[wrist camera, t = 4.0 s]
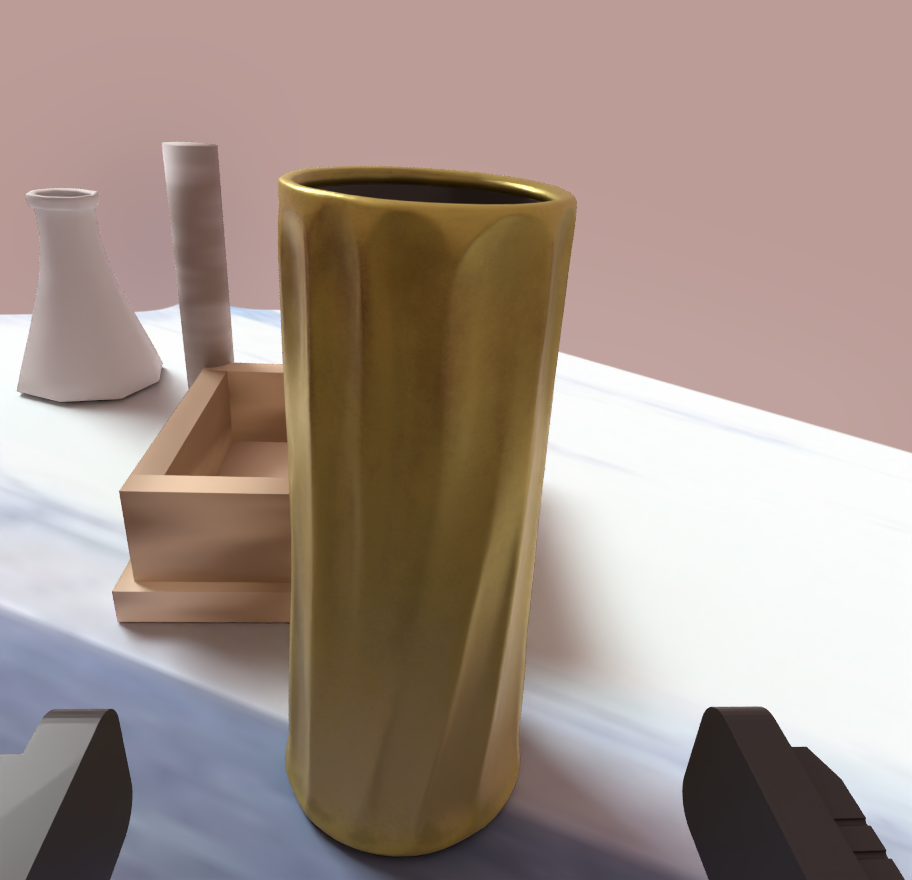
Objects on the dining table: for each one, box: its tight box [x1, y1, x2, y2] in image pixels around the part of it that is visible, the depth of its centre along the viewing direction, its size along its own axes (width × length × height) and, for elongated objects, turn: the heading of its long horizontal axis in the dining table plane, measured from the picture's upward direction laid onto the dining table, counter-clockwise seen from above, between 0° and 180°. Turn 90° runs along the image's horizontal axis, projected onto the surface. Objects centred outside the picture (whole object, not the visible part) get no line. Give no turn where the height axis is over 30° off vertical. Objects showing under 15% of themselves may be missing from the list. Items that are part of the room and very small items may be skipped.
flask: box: [17, 188, 163, 402], centre depth 38 cm, size 7×7×10 cm
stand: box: [112, 142, 291, 622], centre depth 26 cm, size 12×13×13 cm
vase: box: [278, 166, 577, 856], centre depth 16 cm, size 6×6×14 cm
